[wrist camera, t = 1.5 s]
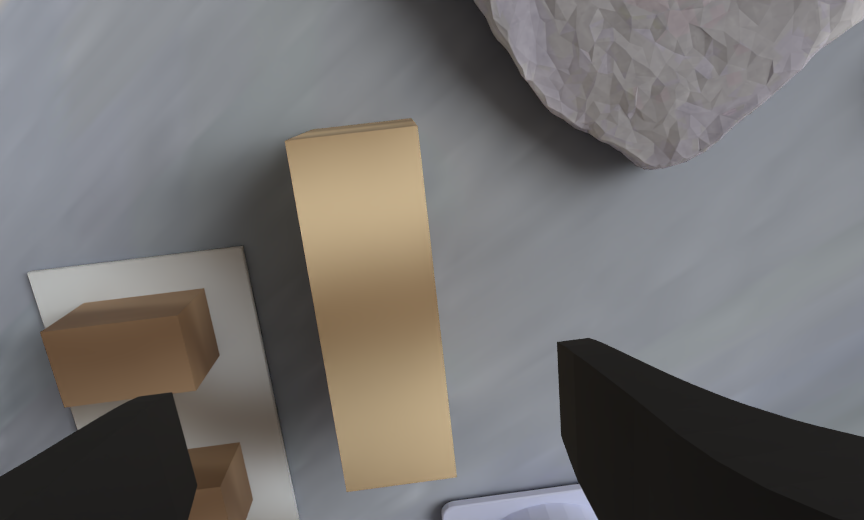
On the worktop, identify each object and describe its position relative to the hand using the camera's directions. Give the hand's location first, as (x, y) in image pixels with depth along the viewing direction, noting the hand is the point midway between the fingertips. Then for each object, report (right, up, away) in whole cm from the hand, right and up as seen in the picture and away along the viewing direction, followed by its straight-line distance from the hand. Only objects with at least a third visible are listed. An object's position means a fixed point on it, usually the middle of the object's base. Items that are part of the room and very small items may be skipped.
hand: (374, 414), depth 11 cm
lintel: (-1, +3, +9) cm, 10 cm away
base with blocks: (-8, -2, +10) cm, 13 cm away
